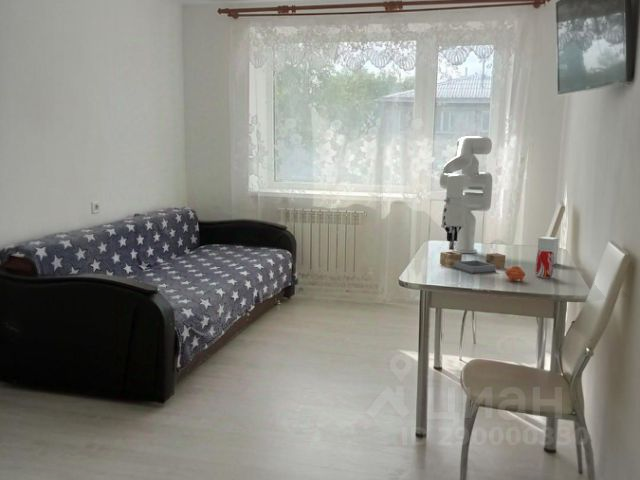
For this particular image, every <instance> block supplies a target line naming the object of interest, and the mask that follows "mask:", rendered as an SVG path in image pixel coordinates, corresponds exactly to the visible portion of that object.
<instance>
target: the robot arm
mask: <svg viewBox="0 0 640 480" xmlns="http://www.w3.org/2000/svg"><path fill="white" fill-rule="evenodd" d="M456 141H457V143H456V152H455V155H454V158H452V159H451V160H449V161H448V162H446V164H445V165H444V166H443V167H442V169H441V172H440V177H439V186H440V188H442V189H443V190H446V192H445V193H446V194H445V195H446V196H445V199H444V200H443V201H444V203H445V204H444V206H443V211H442V218H441V225H440V228H442V229H444V231H445V232H446V241H447V242H449V241H450V242H451V241H452V233H451V232H452V226H455V238H454V250H452V251H453V252H457V253H460V254H475V253H477V252H478V250H477V249H476V248H475V236H476V222H477V221H476V216H475V215H474V213H473V212H488V211H489V210H490V209H491V205H492V197H493V196H492V193H493V175H492V174H491V173H490V172H487V171H479V165H480V161H479V159H478V157H477V156H476V155H489V154H490V153H491V151H492V149H493V148H492V147H493V142H492V139H491V138H490V137H486V136H474V135H473V136H470V135H469V136H463V137H460V138H459V139H458V140H456ZM458 171H461V173H454V172H458ZM466 190H471V192H470V191H466ZM472 190H473V191H481V192H473V191H472ZM472 211H473V212H472Z"/></svg>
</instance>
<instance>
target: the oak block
mask: <svg viewBox="0 0 640 480" xmlns="http://www.w3.org/2000/svg"><path fill="white" fill-rule="evenodd" d="M439 256H440V259H439V265H440V264H441V265H440V266H443V265H444V267H446V266H447V267H446V268H454V262H458V261H463V258H462V257H463V253H458V252H454V251H453V250H450V251H440V255H439Z"/></svg>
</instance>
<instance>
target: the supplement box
mask: <svg viewBox="0 0 640 480" xmlns="http://www.w3.org/2000/svg"><path fill="white" fill-rule="evenodd" d="M559 241H560V239H559V237H552V236H541V237H538V241H537V252H538V251H539V249H551V250H553V253H554V262H553V265H556V264H557V262H558V251H559Z"/></svg>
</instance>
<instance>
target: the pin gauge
mask: <svg viewBox="0 0 640 480" xmlns="http://www.w3.org/2000/svg"><path fill="white" fill-rule="evenodd" d="M451 233H452V241H451V242H450V241H448V242H449V245H448V250H450V251H453V250H454V248H455V245H454V243H455V241H454V238H455V226H452V232H451Z"/></svg>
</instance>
